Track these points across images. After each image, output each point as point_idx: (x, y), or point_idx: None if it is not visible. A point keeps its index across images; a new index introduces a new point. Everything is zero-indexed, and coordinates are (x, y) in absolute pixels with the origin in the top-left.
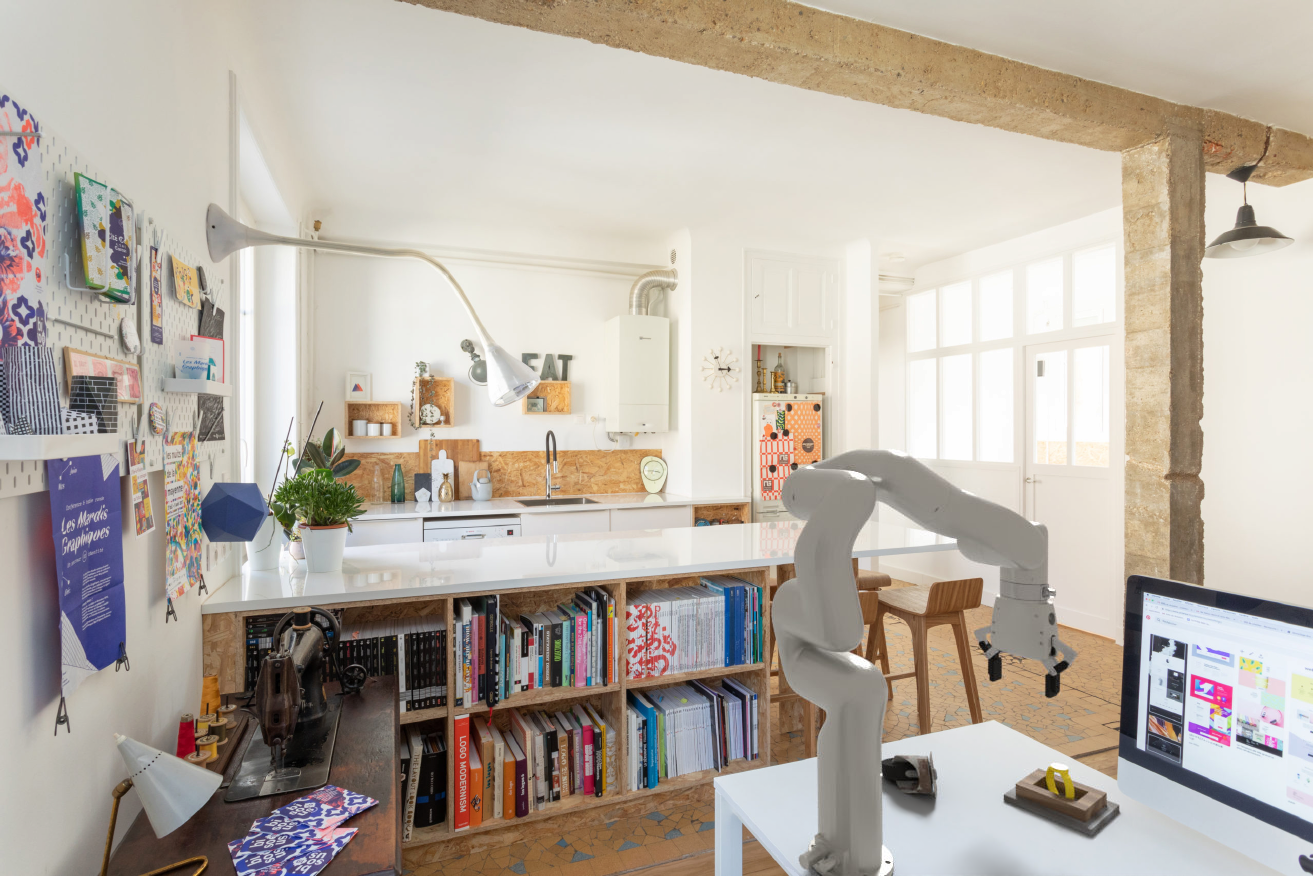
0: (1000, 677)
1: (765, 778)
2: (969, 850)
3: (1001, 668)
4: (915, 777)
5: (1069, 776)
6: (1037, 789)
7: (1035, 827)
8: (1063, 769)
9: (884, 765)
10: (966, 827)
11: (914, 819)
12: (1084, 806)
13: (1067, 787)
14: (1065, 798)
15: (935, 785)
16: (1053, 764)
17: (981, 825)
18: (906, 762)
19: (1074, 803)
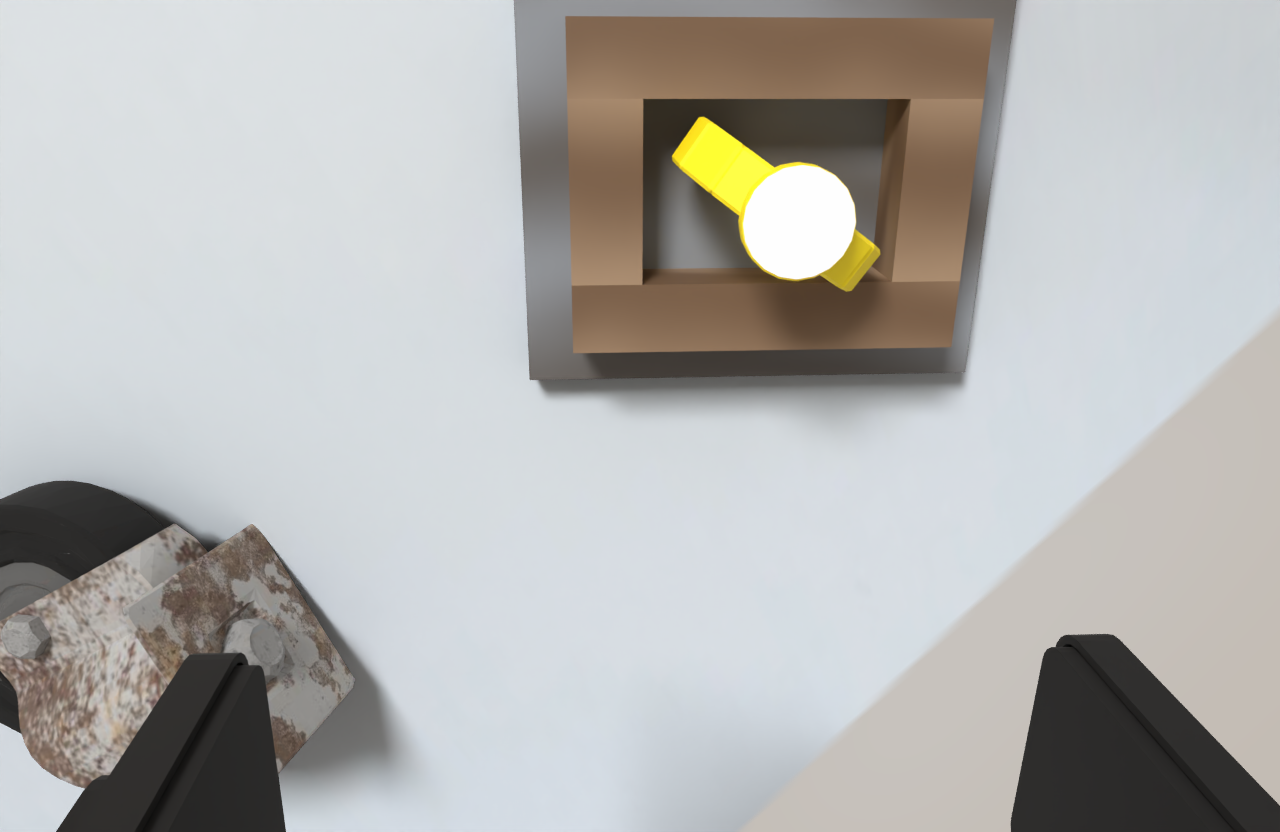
0: (258, 709)
1: None
2: (643, 814)
3: (201, 790)
4: None
5: (866, 246)
6: (687, 320)
7: (747, 484)
8: (836, 251)
9: (18, 731)
10: (550, 701)
11: (381, 803)
12: (937, 306)
13: (854, 286)
14: (834, 297)
15: (281, 613)
16: (758, 219)
17: (582, 644)
18: (67, 650)
19: (889, 318)
